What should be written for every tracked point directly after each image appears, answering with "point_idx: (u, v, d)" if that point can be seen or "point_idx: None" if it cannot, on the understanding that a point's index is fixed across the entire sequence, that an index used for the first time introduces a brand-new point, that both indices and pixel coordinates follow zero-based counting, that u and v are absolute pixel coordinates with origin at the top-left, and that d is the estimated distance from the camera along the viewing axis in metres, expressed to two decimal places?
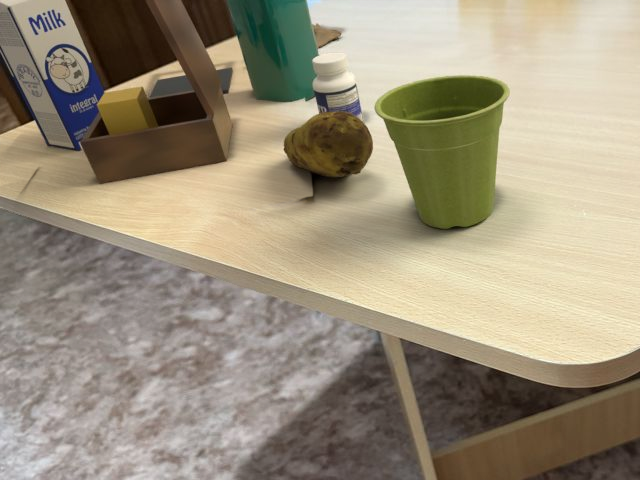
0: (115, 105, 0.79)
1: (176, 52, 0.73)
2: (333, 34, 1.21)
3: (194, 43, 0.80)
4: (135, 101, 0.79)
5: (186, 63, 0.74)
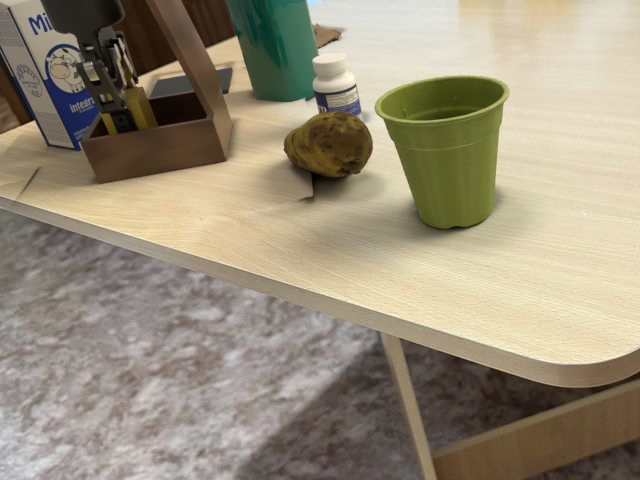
0: None
1: (176, 52, 0.73)
2: (333, 34, 1.21)
3: (194, 43, 0.80)
4: (135, 101, 0.79)
5: (186, 63, 0.74)
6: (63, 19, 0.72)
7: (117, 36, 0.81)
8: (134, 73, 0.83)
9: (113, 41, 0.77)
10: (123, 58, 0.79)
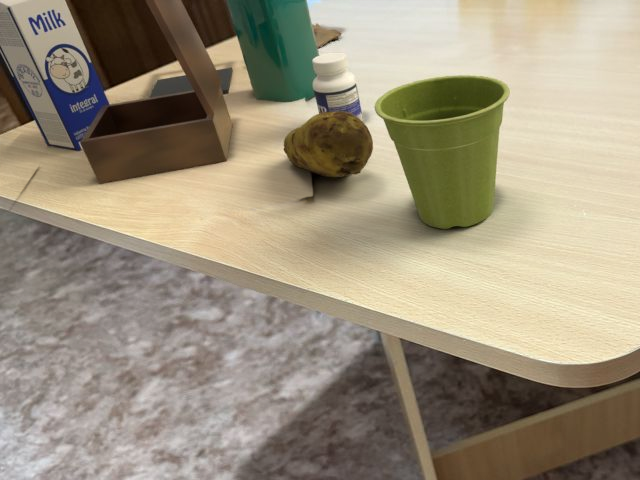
0: None
1: (176, 52, 0.73)
2: (333, 34, 1.21)
3: (194, 43, 0.80)
4: None
5: (186, 63, 0.74)
6: None
7: None
8: None
9: None
10: None
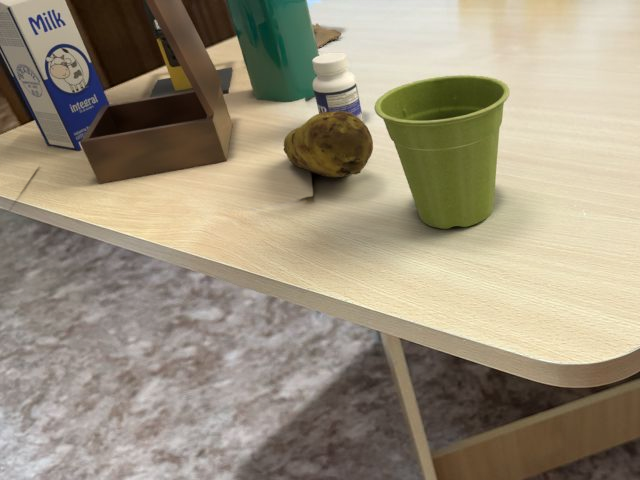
0: None
1: (176, 52, 0.73)
2: (333, 34, 1.21)
3: (194, 43, 0.80)
4: None
5: (186, 63, 0.74)
6: None
7: None
8: None
9: None
10: None
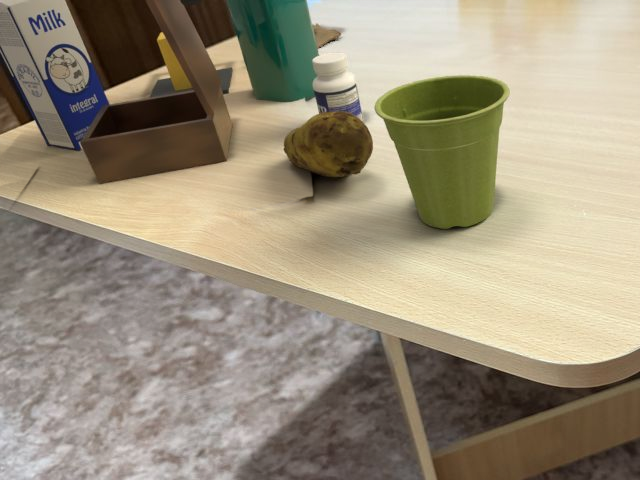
0: None
1: (176, 52, 0.73)
2: (333, 34, 1.21)
3: (194, 43, 0.80)
4: None
5: (186, 63, 0.74)
6: None
7: None
8: None
9: None
10: None
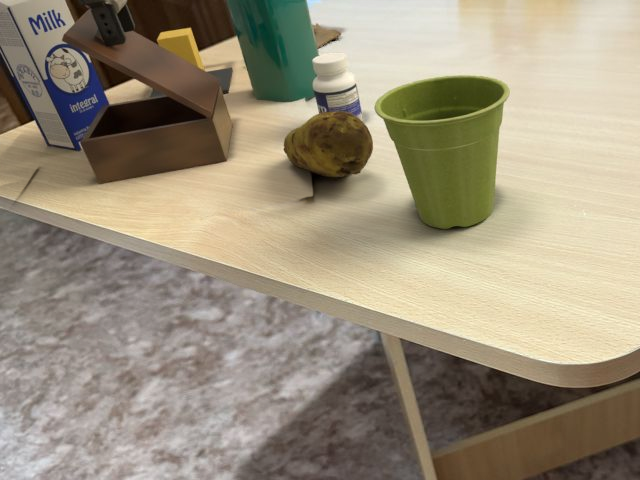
0: (170, 40, 1.01)
1: (145, 82, 0.74)
2: (333, 34, 1.21)
3: (168, 63, 0.81)
4: (186, 37, 1.02)
5: (159, 85, 0.75)
6: None
7: None
8: None
9: None
10: None
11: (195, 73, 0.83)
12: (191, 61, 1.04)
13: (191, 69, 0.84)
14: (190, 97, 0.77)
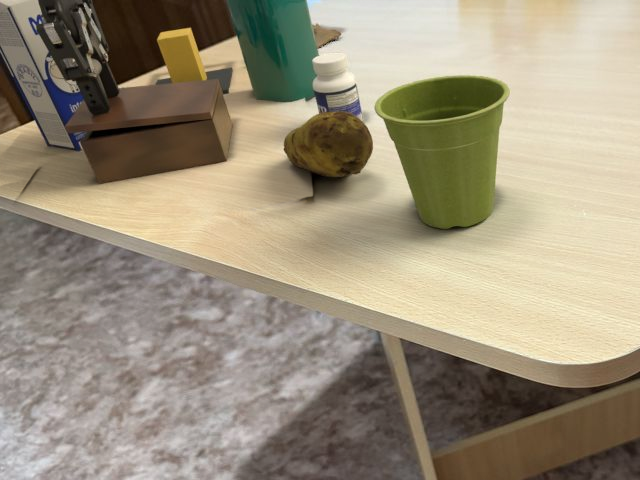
0: (170, 40, 1.01)
1: (145, 122, 0.77)
2: (333, 34, 1.21)
3: (165, 94, 0.83)
4: (186, 37, 1.02)
5: (156, 118, 0.77)
6: None
7: (84, 1, 0.79)
8: (103, 40, 0.81)
9: (79, 6, 0.75)
10: (90, 24, 0.76)
11: (192, 88, 0.84)
12: (191, 61, 1.04)
13: (188, 86, 0.85)
14: (187, 111, 0.78)
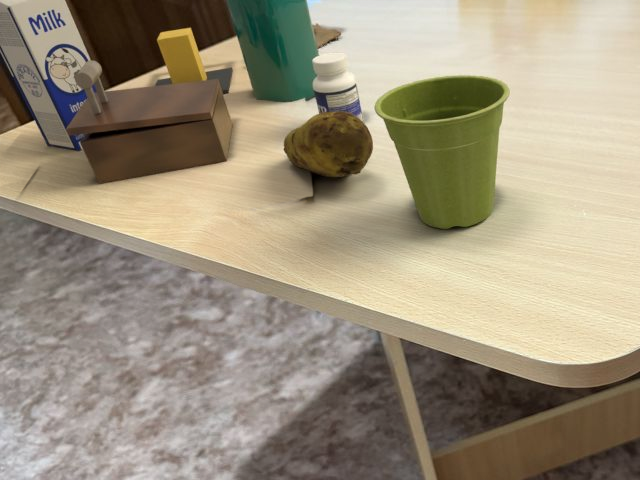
0: (170, 40, 1.01)
1: (145, 124, 0.77)
2: (333, 34, 1.21)
3: (165, 95, 0.83)
4: (186, 37, 1.02)
5: (156, 119, 0.77)
6: None
7: None
8: None
9: None
10: None
11: (192, 88, 0.84)
12: (191, 61, 1.04)
13: (188, 87, 0.85)
14: (187, 111, 0.78)
